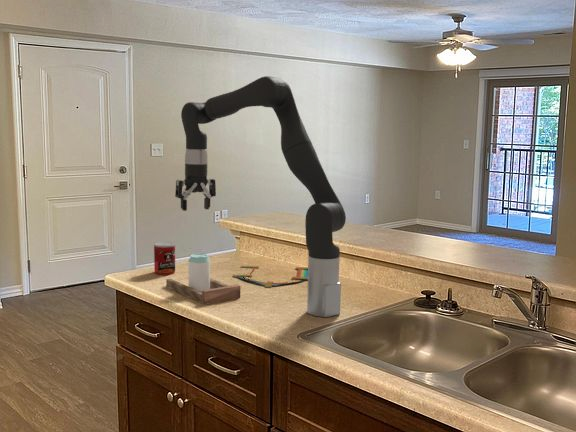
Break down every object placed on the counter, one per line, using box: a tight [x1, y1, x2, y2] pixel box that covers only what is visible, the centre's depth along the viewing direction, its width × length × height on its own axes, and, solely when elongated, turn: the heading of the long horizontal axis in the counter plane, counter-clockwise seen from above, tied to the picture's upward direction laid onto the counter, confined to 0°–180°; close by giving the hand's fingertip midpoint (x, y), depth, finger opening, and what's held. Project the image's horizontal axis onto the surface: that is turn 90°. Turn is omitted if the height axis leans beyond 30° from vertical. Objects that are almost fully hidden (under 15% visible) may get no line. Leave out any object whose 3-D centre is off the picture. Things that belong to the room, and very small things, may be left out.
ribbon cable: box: [232, 265, 308, 289], centre depth 226 cm, size 29×1×30 cm
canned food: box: [153, 241, 176, 276], centre depth 229 cm, size 8×8×11 cm
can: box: [187, 253, 211, 292], centre depth 205 cm, size 7×7×12 cm
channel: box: [165, 277, 241, 305], centre depth 204 cm, size 26×13×4 cm, turn 38°
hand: (195, 209), depth 211 cm, fingers open, 8 cm apart
